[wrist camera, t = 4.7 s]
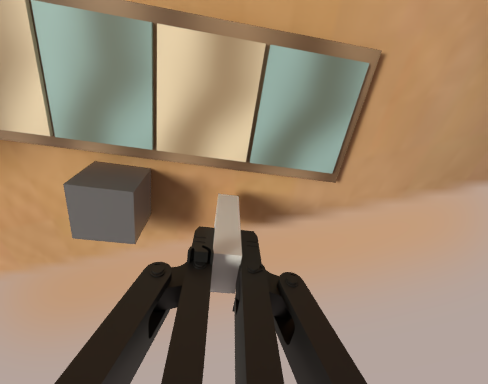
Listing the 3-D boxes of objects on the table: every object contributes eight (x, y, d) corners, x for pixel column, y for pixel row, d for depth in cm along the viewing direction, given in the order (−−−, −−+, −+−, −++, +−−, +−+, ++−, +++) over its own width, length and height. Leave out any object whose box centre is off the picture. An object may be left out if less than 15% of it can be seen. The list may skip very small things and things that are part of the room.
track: (-49, 129, 17) (-63, 133, 16) (-111, -44, 13) (-134, -51, 12) (332, 179, 20) (337, 184, 19) (376, 50, 16) (384, 50, 15)
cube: (100, 207, 20) (72, 238, 17) (95, 160, 19) (63, 184, 15) (151, 213, 21) (135, 244, 17) (151, 168, 19) (133, 192, 15)
